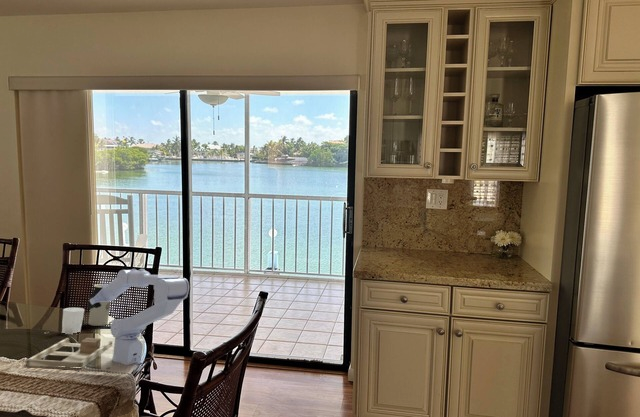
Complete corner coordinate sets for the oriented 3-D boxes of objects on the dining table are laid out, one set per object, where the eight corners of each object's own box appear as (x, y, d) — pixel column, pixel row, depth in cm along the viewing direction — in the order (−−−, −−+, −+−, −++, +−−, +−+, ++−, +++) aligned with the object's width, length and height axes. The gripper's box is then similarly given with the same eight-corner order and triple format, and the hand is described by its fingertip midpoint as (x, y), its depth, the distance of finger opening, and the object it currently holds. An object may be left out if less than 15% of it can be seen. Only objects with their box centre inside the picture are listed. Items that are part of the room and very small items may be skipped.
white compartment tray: (65, 345, 166) (66, 338, 166) (111, 348, 168) (112, 341, 168) (25, 368, 139) (26, 359, 139) (80, 371, 141) (81, 363, 141)
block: (85, 348, 161) (86, 337, 162) (99, 349, 162) (100, 338, 162) (79, 352, 156) (80, 341, 157) (93, 353, 157) (95, 342, 157)
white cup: (72, 336, 178) (75, 312, 178) (55, 333, 180) (58, 309, 180) (85, 332, 186) (88, 309, 186) (70, 329, 187) (73, 306, 188)
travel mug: (84, 324, 198) (89, 285, 199) (97, 321, 206) (101, 283, 206) (99, 327, 196) (103, 287, 197) (111, 323, 204) (115, 285, 205)
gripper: (126, 272, 167) (108, 286, 174) (93, 286, 155) (75, 301, 161) (135, 287, 167) (117, 301, 173) (103, 302, 154) (84, 317, 160)
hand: (97, 302), depth 167 cm, fingers open, 7 cm apart
